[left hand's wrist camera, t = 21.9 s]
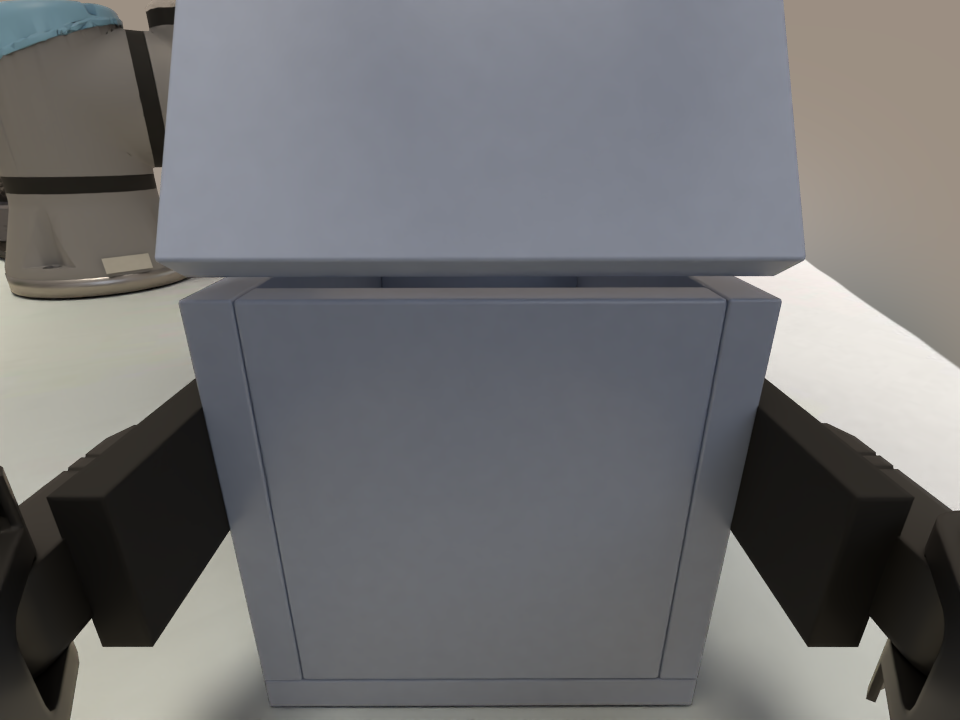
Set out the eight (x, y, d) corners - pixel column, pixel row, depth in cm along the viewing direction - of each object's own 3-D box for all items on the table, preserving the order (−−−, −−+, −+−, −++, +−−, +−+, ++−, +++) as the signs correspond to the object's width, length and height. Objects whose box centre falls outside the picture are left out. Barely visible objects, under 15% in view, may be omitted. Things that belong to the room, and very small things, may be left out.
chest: (377, 421, 25) (358, 210, 21) (582, 420, 25) (599, 209, 21) (269, 707, 12) (176, 300, 8) (692, 705, 12) (784, 299, 8)
